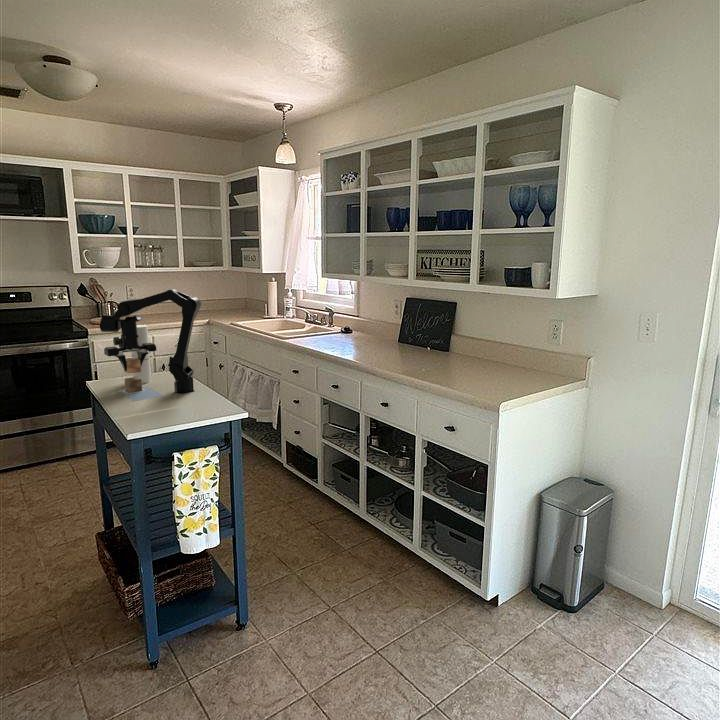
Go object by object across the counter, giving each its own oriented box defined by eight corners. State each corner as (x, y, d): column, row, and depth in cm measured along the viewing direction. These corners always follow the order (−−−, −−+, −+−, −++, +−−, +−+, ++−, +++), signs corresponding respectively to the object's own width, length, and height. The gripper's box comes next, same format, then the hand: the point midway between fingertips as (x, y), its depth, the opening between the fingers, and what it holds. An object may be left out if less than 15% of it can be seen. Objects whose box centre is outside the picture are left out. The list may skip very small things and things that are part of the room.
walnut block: (137, 388, 218) (137, 376, 217) (142, 390, 214) (141, 379, 213) (125, 390, 215) (124, 378, 213) (129, 393, 211) (128, 380, 210)
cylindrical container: (143, 380, 234) (139, 324, 229) (154, 382, 231) (151, 325, 226) (129, 383, 228) (125, 326, 222) (141, 385, 224) (137, 327, 219)
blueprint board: (147, 387, 222) (147, 385, 222) (165, 397, 208) (164, 395, 208) (117, 392, 214) (117, 390, 214) (133, 402, 200) (133, 400, 200)
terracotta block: (136, 369, 216) (135, 357, 215) (141, 371, 212) (140, 359, 211) (124, 371, 213) (123, 359, 212) (128, 373, 209) (127, 361, 208)
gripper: (145, 327, 221) (148, 363, 224) (98, 331, 209) (101, 369, 212) (155, 330, 213) (158, 368, 216) (106, 335, 201) (110, 374, 204)
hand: (132, 370), depth 213 cm, fingers closed on terracotta block, 5 cm apart
